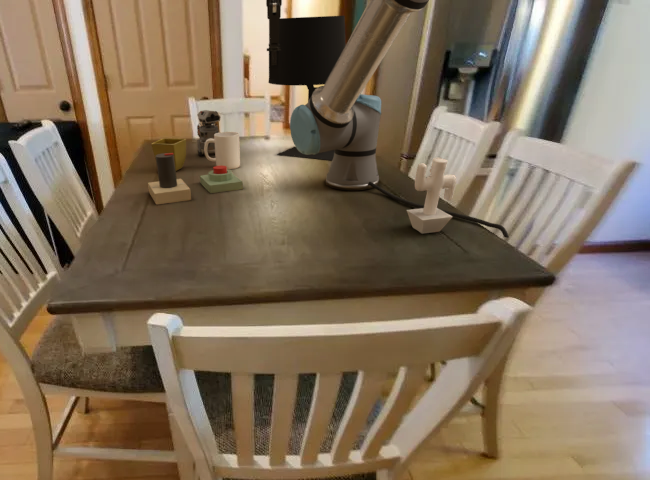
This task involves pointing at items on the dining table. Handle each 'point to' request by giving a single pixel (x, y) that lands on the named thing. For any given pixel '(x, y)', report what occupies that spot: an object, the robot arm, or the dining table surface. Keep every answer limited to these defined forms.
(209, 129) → the figurine
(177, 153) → the flower pot
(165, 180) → the dimmer knob
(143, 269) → the dining table surface
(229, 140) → the cup
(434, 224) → the figurine
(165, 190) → the dimmer panel
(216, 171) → the button
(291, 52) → the table lamp
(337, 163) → the robot arm
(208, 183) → the switch box
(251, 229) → the dining table surface
